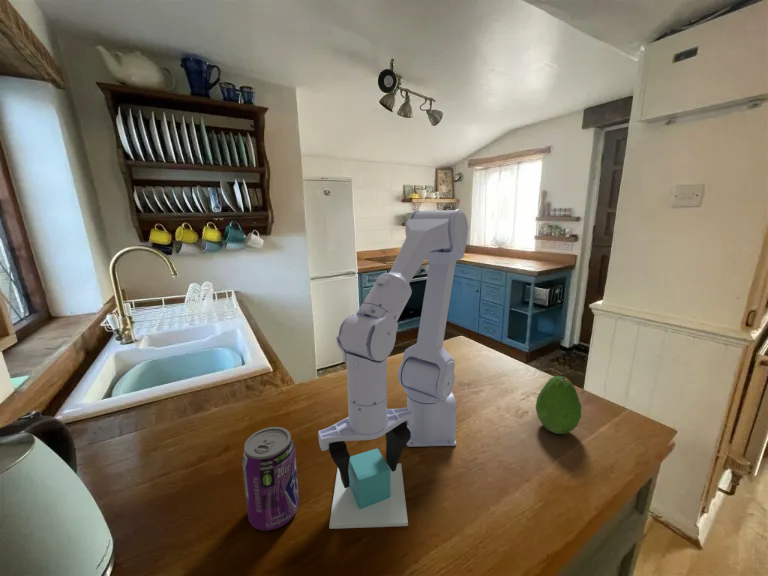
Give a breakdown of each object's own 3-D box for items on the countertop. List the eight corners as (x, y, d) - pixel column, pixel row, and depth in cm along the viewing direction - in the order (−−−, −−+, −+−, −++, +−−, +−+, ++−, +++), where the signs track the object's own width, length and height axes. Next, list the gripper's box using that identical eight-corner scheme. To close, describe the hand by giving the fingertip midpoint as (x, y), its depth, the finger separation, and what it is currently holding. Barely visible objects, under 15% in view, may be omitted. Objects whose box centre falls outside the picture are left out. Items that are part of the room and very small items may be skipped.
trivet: (401, 466, 55) (401, 463, 55) (407, 525, 44) (407, 522, 44) (338, 468, 55) (337, 465, 55) (329, 528, 44) (329, 525, 44)
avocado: (552, 446, 60) (559, 388, 57) (526, 420, 67) (531, 369, 65) (588, 439, 61) (596, 383, 59) (558, 416, 69) (564, 365, 66)
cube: (377, 474, 53) (377, 448, 52) (390, 497, 48) (390, 469, 47) (349, 484, 51) (348, 457, 50) (359, 509, 46) (358, 480, 45)
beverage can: (284, 539, 42) (277, 463, 40) (237, 529, 44) (228, 455, 41) (307, 495, 49) (302, 427, 47) (266, 488, 51) (259, 422, 48)
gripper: (399, 373, 52) (399, 444, 55) (312, 392, 47) (316, 470, 49) (421, 394, 46) (419, 473, 49) (323, 419, 40) (327, 507, 43)
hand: (368, 474), depth 49 cm, fingers open, 7 cm apart
